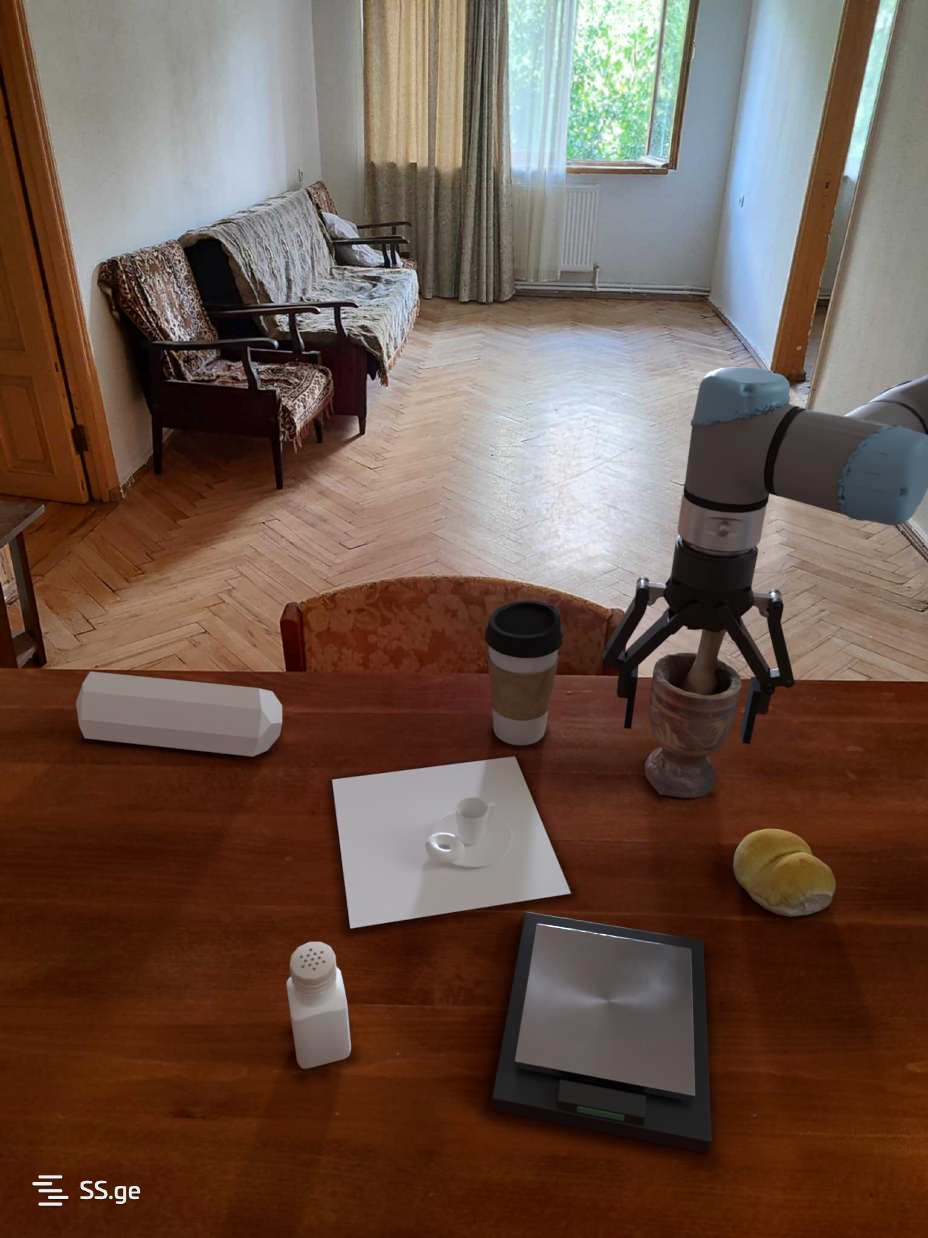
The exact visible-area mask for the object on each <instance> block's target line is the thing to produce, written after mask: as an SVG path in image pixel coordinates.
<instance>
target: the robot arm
mask: <svg viewBox="0 0 928 1238" xmlns="http://www.w3.org/2000/svg"><path fill="white" fill-rule="evenodd" d="M699 383H700V384H699V387H698V392H697V395H696V396H697V397H696V402H695V407H694V412H693V416H692V418H691V420H690V427H691V430H690V431H691V432H690V439H689V447H688V456H687V464H686V471H685V479H684V484H683V492H682V493H681V501H680V507H679V515H678V521H677V534H678V536H677V537H676V539H675V542H674V550H673V551H674V552H673V558H672V564H671V572H670V576H669V578H668V579H667V581H665V583H660V582H652V581H650V580H649V578H648V577H646V576H640V577H638V579H637V581H636V584H635V585H636V586H635V593H634V597H633V599H632V600H631V602H630V604H629V605H628V606H627V609H626V610H625V612H624V614H623V615H622V618H621V619H620V620H619V623H618V624H617V626H616V627H615V629H614V631H613V632H612V634H611V636H610V637H609V639H608V641H607V642H606V645H604V648H603V652H602V661H601V662H602V665H603V667H605V668H613V669H615V670H616V671H617V672H618V675H617V676H618V677H617V685H616V696H617V698H619V699H626V701H625V710H624V723H623V729H626V730H632V726H633V725H632V724H633V718H634V710H635V702H636V694H637V688H638V687H637V686H638V679H639V665H641V664H642V663H643V662H644V661H645V660H647V658H649V656H651V655H652V653H654V652H655V651H656V650H657V649H658V648H659V647H660V646H661V645H662V644H663V643H664V642H665V641H666V640H667V639H669V637H671V636H673V635H676V633H678V632H679V631H680V630H681V629H682V628H683V627H685V628H686V630H691V631H702V629H705V630H707V631H710V632H717V633H720V631H721V630H725V629H726V631H727V632H726V633H727V634H728V635H729V637H730V639H731V641H732V642H734V644H735V645H736V647H737V649H738V650H739V652H740V654H741V655H742V657H743V659H744V660H745V662H746V663H747V665H748V667H749V669H750V671H751V672H752V674H753V675H754V676H753V675H751V676H750V680H749V684H748V690H747V694H746V700H745V704H744V709H743V714H742V720H741V724H740V735H741V742H742V744H745V745H751V741H752V737H753V732H754V727H755V722H756V717H757V715H764V716H765V715H767V713H768V711H769V707H770V703H771V699H772V695H774V694H775V693H776V688H779V687H784V688H786V689H790V688H793V686H795V684H796V683H795V676H794V673H793V669H792V668H793V667H792V665H791V660H790V656H789V651H788V646H787V643H786V639H785V635H784V630H783V626H782V618H783V613H784V612H783V611H784V607H785V605H784V601H783V597H782V593H781V591H780V590H779V589H775V588H774V589H771V590H769V591H768V593H766V592H755V591H753V588H752V586H753V581H754V575H755V571H756V567H757V566H756V565H757V560H758V555H759V548H758V545H759V544H760V542H761V539H762V533H763V528H764V523H765V518H766V517H765V516H766V511H767V505H768V503H769V498H770V495H771V496H776V497H781V498H784V499H787V500H791V501H795V502H797V503H802V504H805V505H809V506H812V507H814V508H819V509H823V510H826V511H830V512H833V513H837V514H839V515H840V514H841V515H843V516H846V517H848V518H849V519H852V520H856V521H859V522H864V521H865V522H871V523H877V524H881V525H882V524H883V525H886V526H899V525H903V524H904V523H907V522H908V521H909V520H910V519H911V518H912V517H913V516H914V515H915V513H916V512H917V509H918V507H919V506H920V505H921V503H922V501H923V500H924V497H925V495H926V494H927V491H928V374H927V375H924V376H922V377H919V378H917V379H911V380H906V381H903V382H900V383H898V384H895V385H893V386H891V387H889V388H886V389H885V390H883V391H881V392H880V394H879V395H877V396H876V397H875V398H873V399H871V400H870V401H868V402H866V403H863V405H860V406H859V407H857V408H855V409H854V410H852V411H850V412H849V413H847V414H844V415H840V414H834V413H829V412H823V411H818V410H812V409H809V408H805V407H801V406H799V405H795V404H791V403H790V400H791V396H790V391H791V385H790V381H789V380H788V379H787V378H786V377H785V376H784V375H783V374H780V373H777V372H776V373H774V372H773V370H769V369H763V368H758V367H748V366H747V367H746V366H731V367H723V368H718V369H716V370H713V371H710V372H708V373H707V374H706V375H705V376H704V377H703V378H702V380H701V381H700V382H699ZM659 598H663V599H664V601H665V602H666V603H667V606H668V607H667V608H666V609H665V610H664V611H663V613H662V615H661V616H660V617H659V618H658V619H657V620H656V621H655V622H654V623H653V624H652V625H651V626H650V627H649V628H648V629H646V630H645V632H643V633H642V634H641V635H640V636H639V637H638V638H637V639H636V640H634V642H633V643H632V644H631V645H630V646H629V647H628V648H626V649H625V647H626V645H627V644H628V642H629V641H630V639H631V638H632V636H633V634H634V632H635V630H636V629H637V628H638V625H639V624H640V623H641V621H642V619H643V618H644V616H645V614H646V611H647V609H648V607H651V606H653V605H655V604H656V602H657V600H658V599H659ZM753 607H755V608H757V610H758V613H759V615H760V617H764V618H765V619H766V623H767V628H768V633H769V637H770V641H771V644H772V645H771V646H772V649H773V654H774V658H775V663H776V666H777V668H774V669H771V668H770V666H769V663H768V662H767V661H766V659H765V657H764V656H763V654H762V653H761V650H760V649H759V647H758V646H757V643H756V642H755V640H754V638H753V637H752V635H751V634H750V631H749V630H748V628H747V627H746V624H745V623H744V621H743V620H744V619H743V618H742V617H743V616H744V615H745V614H747V612H749V611H750V610H751V609H752V608H753ZM624 649H625V650H624Z"/></svg>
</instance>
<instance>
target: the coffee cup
mask: <svg viewBox="0 0 928 1238" xmlns="http://www.w3.org/2000/svg"><path fill="white" fill-rule="evenodd" d="M484 640H485V642H486V644H487V645H488V651H487V663H488V676H489V689H490V700H491V707H492V708H491V711H492V728H493V732H494V735H495V736H496V737H497V738H498V739H499V740H501V741H502V742H504V743H506V744H509V745H512V746H527V745H532V744H535V743H537V742H539V741H540V740H541V739H542V738H543V737H544V736H545V732H546V728H547V721H548V716H549V709H550V705H551V701H552V694H553V689H554V684H555V679H556V673H557V668H558V663H559V654H558V651H559V649H560V647H561V646H562V645H563V642H564V630H563V628H562V617H561V614H560V612H559V610H558V609H557V608H556V606H554V605H552V604H549V603H547V602H543V601H540V600H534V599H533V600H531V599H528V600H527V599H526V600H519V601H518V600H517V601H513V602H510V603H507V604H504V605H502V606H500V607H498V608H497V609H495V610H494V611H493V612H492V613H491V614H490V615H489V617H488V623H487V626H486V628H485V631H484Z"/></svg>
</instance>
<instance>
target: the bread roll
mask: <svg viewBox="0 0 928 1238" xmlns="http://www.w3.org/2000/svg"><path fill="white" fill-rule="evenodd" d="M732 869H733V873H734V874H733V875H734V877H735V880H736V881H737V883H738V884H739V885H740V886H741V888H743V889H745V890H746V892H747V893H748V895H749V897H750V898H751V900H753V901H754V902H755V903H757V904H758V905H759V906H761V907H762V908H763V909H765V910H767V911H768V912H769V911H770V912H771V913H774V914H776V915H780V916H784V917H789V918H790V917H791V918H793V917H799V916H808V915H811V914H814V913H817V912H820V911H822V910H824V909H826V908H828V906H829V905H831V903H832V901H833V896H834V893H835V891H836V888H837V884H836V878H835V875H834V874H833V873H834V872H833V871H832V870H831V868H830V867H829V865H827V864H826V863H825V862H823V861H822V860H821V859H819V858H818V857H816V856H814V855H813V852H812V850H811V847H810V846H809V844H807V842H806V841H804V839H802V837H800V836H799V835H797V834H795V833H793V832H791V831H788V830H783V829H780V828H764V829H758V830H755V831H753V832H750V833H748V834H747V835H745V837H744V838H743V839H742V840H741V841H740V842H739V844H738V846H737V847H736V850H735V852H734V856H733V864H732Z"/></svg>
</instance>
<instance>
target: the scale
mask: <svg viewBox="0 0 928 1238" xmlns="http://www.w3.org/2000/svg"><path fill="white" fill-rule="evenodd" d="M537 924H543V925H549V926H555V927H561V928H567V929H574V930H580V931H586V932H592V933H598V934H604V935H610V936H616V937H622V938H628V939H635V940H641V941H647V942H653V943H659V944H665V945H671V946H677V947H683V948H689V949H691V954H692V991H693V1027H694V1064H695V1099H694V1102H690V1101H685V1100H680V1099H675V1098H670V1097H664V1096H659V1095H654V1094H649V1093H644V1092H638V1091H633V1090H628V1089H623V1088H618V1087H612V1086H607V1085H602V1084H597V1083H591V1082H586V1081H581V1080H576V1079H571V1078H565V1077H560V1076H555V1075H550V1074H545V1073H539V1072H534V1071H529V1070H524V1069H519V1068H515V1067H514V1063H515V1056H516V1049H517V1043H518V1037H519V1031H520V1025H521V1019H522V1012H523V1006H524V1000H525V994H526V988H527V982H528V975H529V969H530V963H531V957H532V951H533V945H534V938H535V932H536V926H537ZM521 930H522V931H521V935H520V942H519V945H518V952H517V958H516V964H515V969H514V974H513V980H512V985H511V991H510V997H509V1002H508V1007H507V1008H508V1010H507V1014H506V1020H505V1024H504V1031H503V1036H502V1042H501V1047H500V1051H499V1059H498V1063H497V1064H498V1065H497V1069H496V1075H495V1080H494V1086H493V1092H492V1097H491V1099H492V1101H491V1111H493V1112H498V1113H504V1114H508V1115H513V1116H519V1117H524V1118H529V1119H533V1120H539V1121H544V1122H548V1123H553V1124H558V1125H564V1126H568V1127H574V1128H577V1129H583V1130H588V1131H593V1132H597V1133H602V1134H607V1135H613V1136H617V1137H622V1138H627V1139H632V1140H638V1141H642V1142H648V1143H652V1144H656V1145H657V1144H658V1145H662V1146H667V1147H673V1148H677V1149H682V1150H688V1151H693V1152H697V1153H701V1154H702V1153H703V1154H706V1155H708V1154H709V1153H710V1150H711V1146H712V1143H713V1139H712V1135H713V1134H712V1115H711V1114H712V1113H711V1092H710V1066H709V1045H708V1044H709V1043H708V1042H709V1041H708V1019H707V1017H708V1016H707V997H706V995H707V994H706V970H705V969H706V968H705V949H704V945H705V944H704V940H703V939H696V938H690V937H685V936H678V935H671V934H665V933H660V932H659V933H658V932H654V931H653V932H652V931H647V930H641V929H635V928H629V927H623V926H616V925H610V924H603V923H597V922H591V921H584V920H579V919H573V918H568V917H560V916H554V915H548V914H542V913H536V912H535V913H534V912H529V911H525V913H524V918H523V925H522V929H521Z"/></svg>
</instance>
